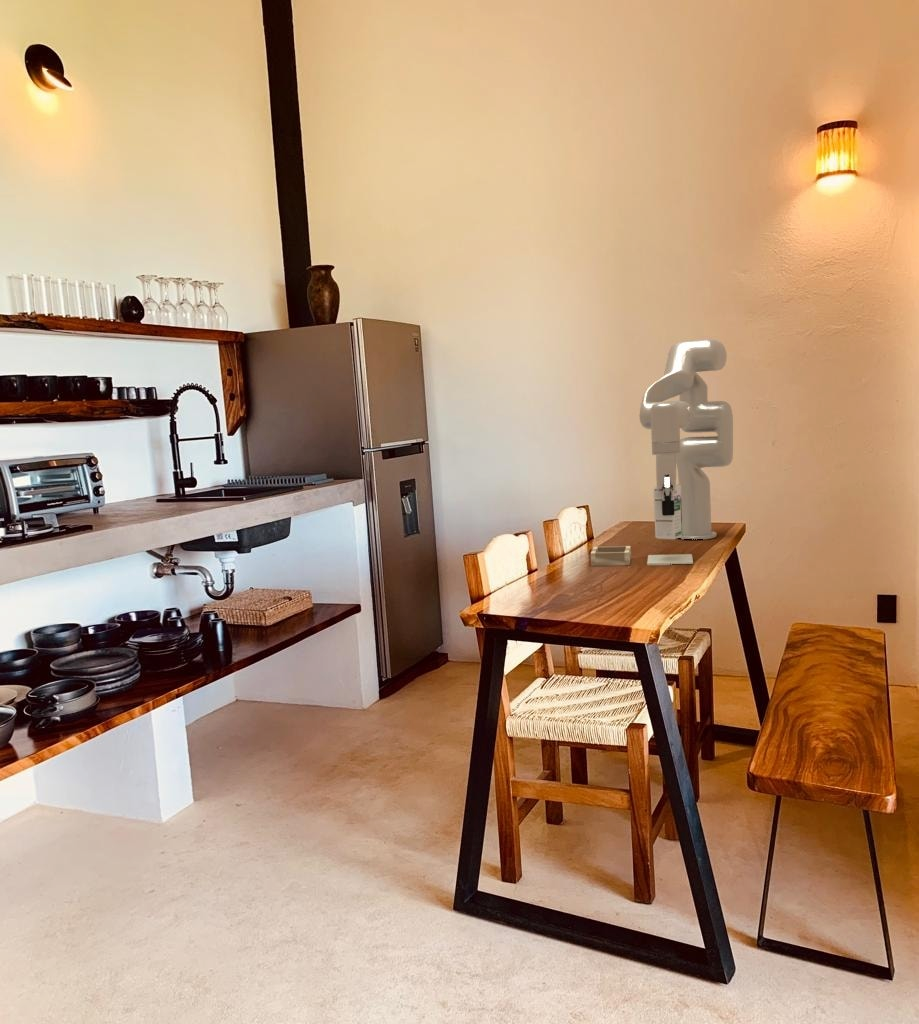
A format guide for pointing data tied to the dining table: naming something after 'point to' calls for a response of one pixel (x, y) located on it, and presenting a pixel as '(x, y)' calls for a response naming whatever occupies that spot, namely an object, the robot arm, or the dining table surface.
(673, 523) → the syrup box
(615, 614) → the dining table surface
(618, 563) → the holder
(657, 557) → the mat
